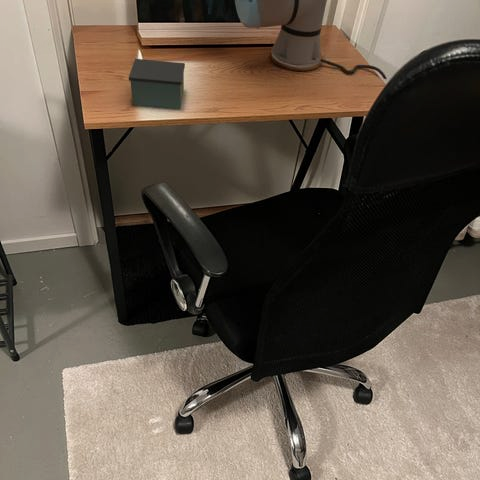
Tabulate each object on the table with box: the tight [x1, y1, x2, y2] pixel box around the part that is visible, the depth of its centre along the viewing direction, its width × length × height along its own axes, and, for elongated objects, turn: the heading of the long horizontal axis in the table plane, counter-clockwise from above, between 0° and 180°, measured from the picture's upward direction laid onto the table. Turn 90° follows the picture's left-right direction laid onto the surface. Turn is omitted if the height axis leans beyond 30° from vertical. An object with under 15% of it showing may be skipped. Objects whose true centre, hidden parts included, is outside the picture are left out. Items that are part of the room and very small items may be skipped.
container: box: [128, 58, 186, 110], centre depth 117 cm, size 13×11×7 cm
